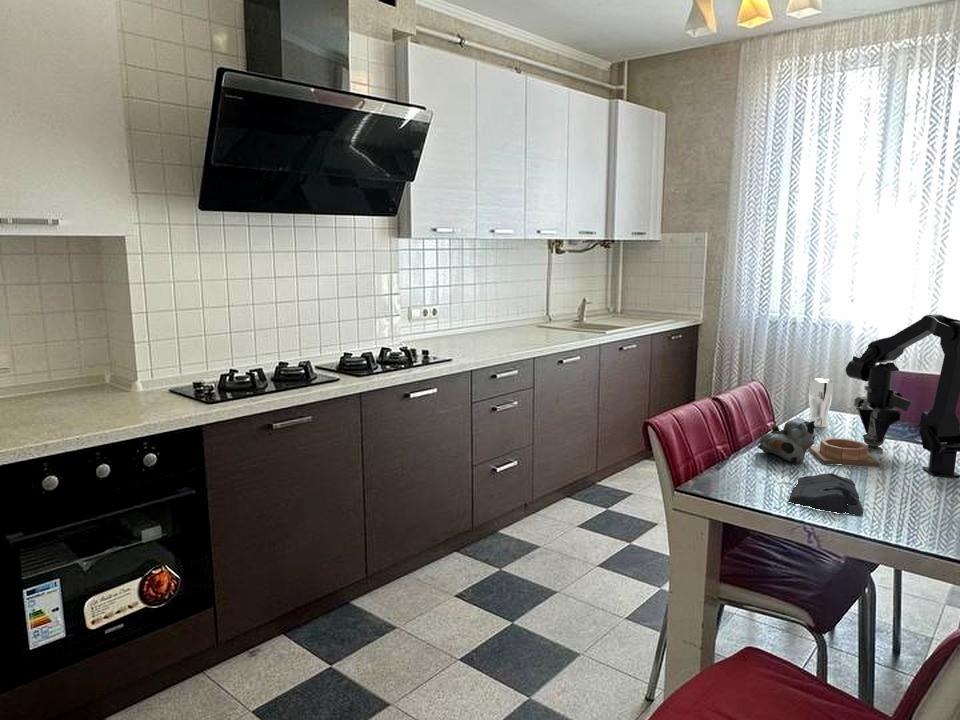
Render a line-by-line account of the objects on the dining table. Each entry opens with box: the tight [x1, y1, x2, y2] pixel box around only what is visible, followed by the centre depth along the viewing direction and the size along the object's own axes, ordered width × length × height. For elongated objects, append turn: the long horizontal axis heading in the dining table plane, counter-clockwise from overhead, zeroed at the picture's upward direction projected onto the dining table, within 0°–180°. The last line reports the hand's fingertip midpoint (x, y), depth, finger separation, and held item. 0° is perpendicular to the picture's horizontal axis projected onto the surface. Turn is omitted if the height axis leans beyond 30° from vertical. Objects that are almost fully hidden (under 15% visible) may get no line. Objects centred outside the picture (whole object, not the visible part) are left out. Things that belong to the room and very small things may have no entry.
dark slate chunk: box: [787, 472, 864, 516], centre depth 163 cm, size 15×22×5 cm
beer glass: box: [808, 378, 834, 428], centre depth 229 cm, size 7×7×15 cm
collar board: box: [808, 437, 881, 468], centre depth 194 cm, size 14×14×4 cm
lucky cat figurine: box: [757, 418, 817, 465], centre depth 193 cm, size 15×12×14 cm
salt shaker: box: [862, 412, 887, 452], centre depth 203 cm, size 6×6×12 cm
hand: (873, 437), depth 203 cm, fingers closed on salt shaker, 8 cm apart
